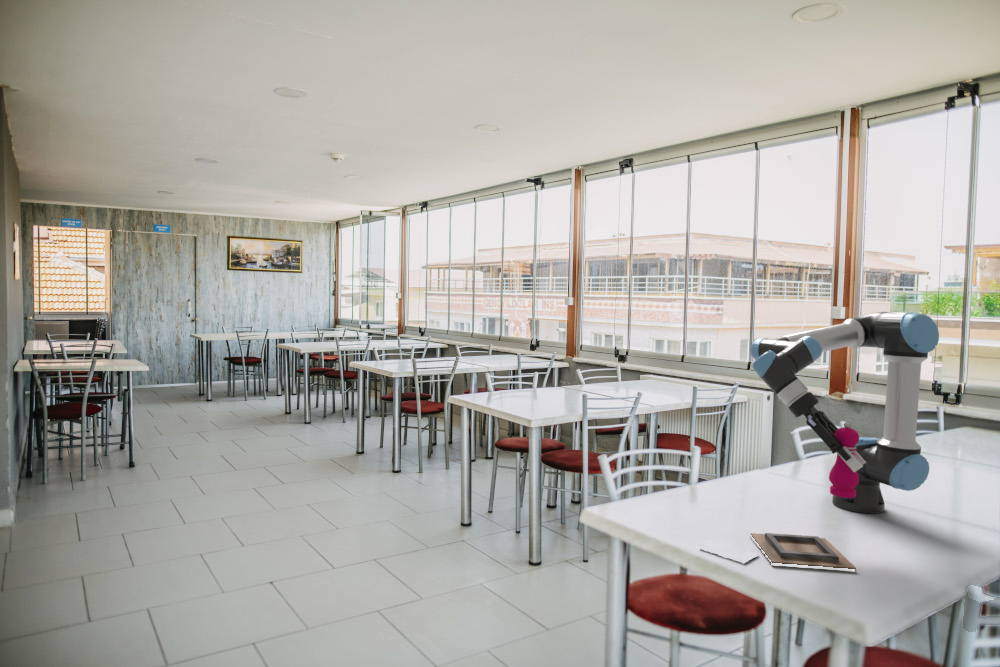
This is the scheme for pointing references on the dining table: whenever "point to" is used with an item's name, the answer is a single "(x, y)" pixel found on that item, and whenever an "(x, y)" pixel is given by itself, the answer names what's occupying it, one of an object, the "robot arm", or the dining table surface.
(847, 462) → the robot arm
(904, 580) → the dining table surface
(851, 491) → the pepper mill
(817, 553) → the pocket board
